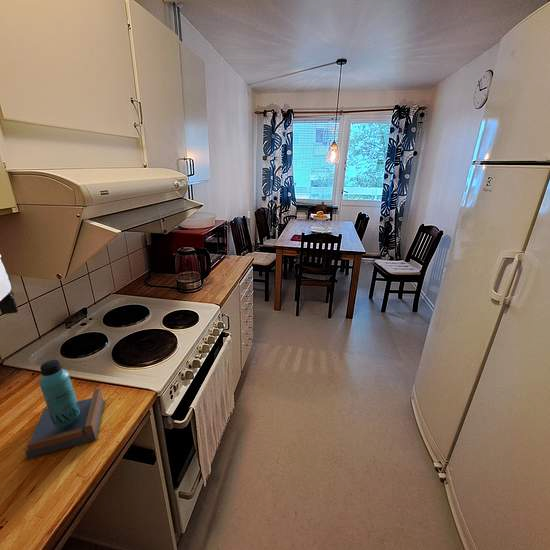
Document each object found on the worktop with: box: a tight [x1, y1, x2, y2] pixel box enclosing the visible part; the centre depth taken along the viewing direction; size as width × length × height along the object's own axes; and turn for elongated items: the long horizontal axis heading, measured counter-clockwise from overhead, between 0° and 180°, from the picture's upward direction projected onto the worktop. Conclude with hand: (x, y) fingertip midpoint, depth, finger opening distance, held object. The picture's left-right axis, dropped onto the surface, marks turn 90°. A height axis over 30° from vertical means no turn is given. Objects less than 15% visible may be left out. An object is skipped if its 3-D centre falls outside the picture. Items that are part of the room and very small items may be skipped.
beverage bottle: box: [38, 359, 81, 427], centre depth 76 cm, size 6×7×20 cm
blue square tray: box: [24, 387, 105, 459], centre depth 80 cm, size 15×14×6 cm
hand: (1, 322), depth 67 cm, fingers open, 9 cm apart
